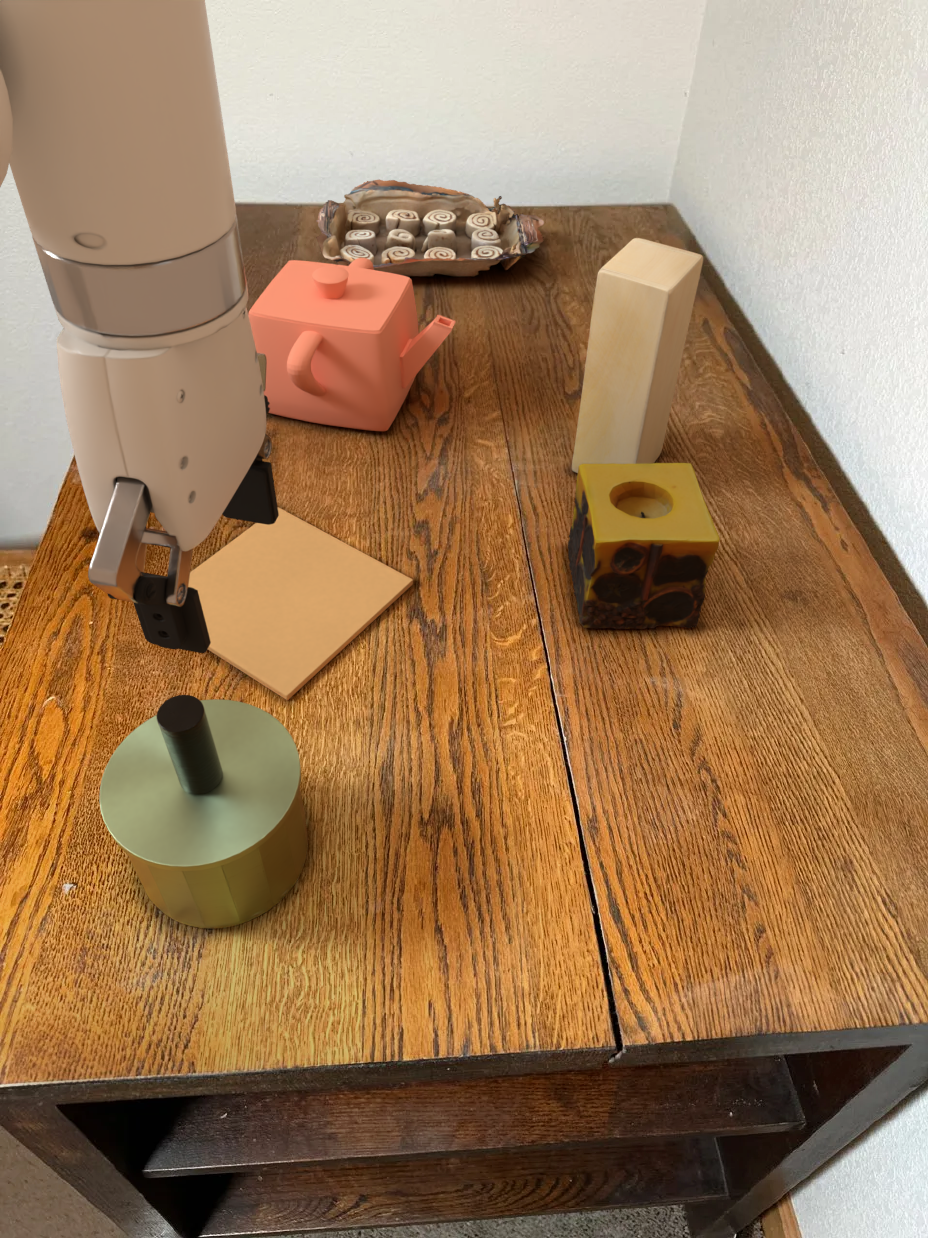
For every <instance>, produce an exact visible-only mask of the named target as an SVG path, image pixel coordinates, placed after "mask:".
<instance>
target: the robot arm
mask: <svg viewBox="0 0 928 1238" xmlns="http://www.w3.org/2000/svg"><path fill="white" fill-rule="evenodd" d="M208 19H209V18H208V12H207V5H206V0H0V188H1V187H2V185H3V184H4V183H3V182H4V181H5V179H6V176H7V174H8V169H9V167H10V170H11V173H12V176H13V180H14V183H15V186H16V190H17V193H18V195H19V199H20V202H21V205H22V208H23V212H24V215H25V218H26V222H27V223H28V224H27V225H28V228H29V230H30V233H31V238H32V241H33V245H34V247H35V250H36V253H37V257H38V260H39V263H40V266H41V269H42V273H43V276H44V279H45V282H46V286H47V288H48V292H49V295H50V297H51V302H52V304H53V307H54V310H55V314H56V317H57V320H58V322H59V323H60V325H61V326H62V329H61V330H60V332H59V334H58V336H57V337H56V353H57V366H58V374H59V376H58V377H59V384H60V390H61V391H60V392H61V398H62V403H63V409H64V415H65V421H66V425H67V428H68V433H69V439H70V442H71V447H72V451H73V454H74V458H75V461H76V462H75V463H76V466H77V467H76V468H77V470H78V473H79V474H78V475H79V478H80V481H81V482H80V483H81V485H82V489H83V492H84V495H85V499H86V503H87V505H88V509H89V511H90V514H91V515H90V516H91V518H92V520H93V523H94V525H95V527H96V530H97V531H98V533H99V536H98V538H97V542H96V545H95V548H94V551H93V555H92V557H91V560H90V563H89V567H88V571H87V577H88V581H89V582H90V583H91V584H93V585H94V586H95V587H97V588H98V589H99V590H101V591H102V592H104V593H105V594H107V596H108V598H109V599H112V600H117V601H123V602H129V603H133V606H134V609H135V612H136V615H137V618H138V621H139V624H140V627H141V631H142V633H143V636H144V639H145V640H146V641H147V642H148V643H149V644H152V645H155V646H158V647H161V648H164V649H168V650H182V651H187V652H193V653H198V654H205V653H207V651H208V647H209V645H210V643H211V641H210V637H209V633H208V629H207V625H206V621H205V618H204V614H203V610H202V606H201V602H200V598H199V594H198V590H196V589H194V588H192V587H188V585H189V577H190V572H191V567H192V559H193V551H194V548H197V546H199V545H200V544H202V542H204V541H205V540H206V539H207V538H208V537H209V535H210V534H211V532H212V531H213V530H214V528H215V527H216V525H217V523H218V521H219V520H220V518H221V517H222V516H223V517H224V518H227V519H232V520H238V521H243V522H249V523H250V522H251V523H254V524H255V523H261V524H267V525H270V524H274V523H275V521H276V520H277V518H278V516H279V513H278V501H277V500H278V499H277V493H276V486H275V482H274V481H275V480H274V475H273V467H272V462H270V461H265V460H268V459H269V458H270V457H271V453H272V450H273V449H272V448H273V443H272V438H271V437H270V436H269V435H268V434H267V418H268V414H269V413H268V412H269V410H270V408H269V407H268V405H269V404H270V403H269V402H268V398H267V396H265V395H264V391H265V386H266V365H267V359H266V355H265V354H262V353H257V352H256V346H255V342H254V337H253V333H252V328H251V324H250V320H249V316H248V315H249V311H248V308H247V306H248V305H247V304H248V301H249V288H248V282H247V275H246V268H245V262H244V255H243V248H242V240H241V235H240V229H239V221H238V215H237V208H236V200H235V194H234V188H233V181H232V174H231V167H230V161H229V154H228V148H227V140H226V134H225V133H226V132H225V126H224V119H223V112H222V106H221V101H220V93H219V92H220V91H219V86H218V79H217V72H216V66H215V60H214V59H215V58H214V52H213V46H212V39H211V32H210V26H209V20H208ZM151 513H152V514H154V516H155V518H156V520H157V521H158V522H159V524H160V525H161V527H162V528H163V529H164V530H161V529H155V528H149V527H147V525H148V522H149V518H150V515H151ZM148 545H152V546H156V547H157V546H158V547H163V548H169V549H170V550H169V558H168V559H169V560H168V567H167V576H166V575H162V574H156V573H150V572H145V565H146V557H147V556H146V555H147V547H148Z"/></svg>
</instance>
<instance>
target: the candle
mask: <svg viewBox="0 0 928 1238" xmlns="http://www.w3.org/2000/svg"><path fill="white" fill-rule="evenodd" d="M574 496H575V497H574V507H573V516H572V522H571V526H570V529H569V534H568V538H569V539H568V541H567V550H568V551H567V552H568V553H567V554H568V560H569V564H568V566H569V570H570V571H571V572H570V576H571V580H572V585H573V586H572V587H573V590H574V592H573V594H574V597H575V600H576V606H577V612H578V616H579V619H578V623H579V624H580V625H581V626H582V627H583V628H584V629H613V630H614V629H615V630H620V629H621V630H623V629H624V630H625V629H637V630H645V629H655V628H656V627H658V626H665V627H667V626H668V627H678V628H687V629H691V628H697V627H698V624H699V620H700V616H701V612H702V606H703V604H704V602H705V599H706V589H707V587H706V586H707V585H706V581H707V575H708V572H709V569H710V567H711V566H712V564H713V563H714V560H715V556H716V553H717V551H718V549H719V547H720V539H721V538H720V535H719V532H718V530H717V527H716V526H715V523H714V520H713V518H712V515H711V514H710V511H709V509H708V506H707V503H706V501H705V498H704V495H703V493H702V490H701V487H700V484H699V480H698V478H697V475H696V471H695V469H694V467H693V464H692V463H691V462H690V463H689V462H654V463H649V464H615V463H610V464H581V465H579V468H578V473H577V476H576V485H575V495H574Z"/></svg>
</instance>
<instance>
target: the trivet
mask: <svg viewBox="0 0 928 1238" xmlns="http://www.w3.org/2000/svg"><path fill="white" fill-rule="evenodd" d="M278 513H279V516H278V518H277V520H276V521H275V523H274V524H270V525H267V524H261V523H255V522H254V524H253V525H251V526H250V527H248V528H247V529H246V530H245V531H243V532H242V533H241V534H239V535H238V536H237V537H235V538H234V539H233V540H231V541H230V542H229V543H227V544H226V545H224V546H223V547H222V548H220V549H219V550H218V551H217V552H215V553H214V554H212V555H211V556H210V557H209V558H207V559H206V560H204V562H203V561H202V563H200V564H199V565H198V566H197V567H195V568H194V569H193V570H190V577H189V585H188V587H192V588H194V589H196V590H198V594H199V598H200V602H201V606H202V610H203V614H204V618H205V621H206V625H207V629H208V633H209V637H210V641H211V643H210V645H209V647H208V649H207V651H209V652H211V653H212V654H214V655H215V656H217V657H219V658H221V660H223V661H225V662H226V663H228V664H230V665H231V666H232V667H234V668H236V669H238V670H239V671H240V672H242V673H244V674H245V675H247V676H249V677H250V678H251V679H253V680H255V681H257V683H259V684H261V685H263V687H265V688H267V689H268V690H270V691H271V692H273V693H275V694H277V695H278V696H280V697H281V698H283V699H284V700H285V701H289V700H290V699H291V698H292V697H293V696H294V695H296V693H298V691H300V690H301V689H302V688H303V687H304V686H305V685H306V684H307V683H308V682H309V681H310V680H311V679H313V678H314V676H316V675H317V674H318V673H319V672H320V671H321V670H322V669H323V668H325V667H326V665H328V664H329V663H330V662H331V661H332V660H333V659H334V658H335V657H336V656H337V655H339V653H341V652H342V651H343V650H344V649H345V648H346V647H347V646H348V645H349V644H350V643H352V641H353V640H355V639H356V638H357V637H358V636H359V635H360V634H361V633H362V632H363V631H364V630H366V628H367V627H369V626H370V625H371V624H372V623H373V622H374V621H375V620H377V618H378V617H379V616H380V615H382V614H383V613H384V612H385V611H386V610H387V609H388V608H389V607H390V606H392V604H393V603H395V602H396V601H397V600H398V599H399V598H400V597H401V596H402V595H403V594H404V593H405V592H407V590H409V588H411V587H412V586H413V585H414V579H413V578H412V577H409V576H407V575H405V574H404V573H402V572H400V571H398V570H397V569H394V568H392V567H390V566H388V565H387V564H385V563H383V562H381V561H379V560H377V559H375V557H371V556H370V555H368V554H366V553H364V552H362V551H360V550H359V549H356V548H355V547H354V546H351V545H349V544H348V543H346V542H344V541H342V540H341V539H338V538H337V537H335V536H333V535H331V534H329V533H327V532H325V531H323V530H321V529H320V528H318V527H316V526H314V525H312V524H310V523H309V522H307V521H305V520H303V519H301V518H299V517H297V516H296V515H294V514H292V513H290V512H288V511H287V510H284V509H282V508H281V507H278Z"/></svg>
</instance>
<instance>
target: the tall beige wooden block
mask: <svg viewBox="0 0 928 1238" xmlns="http://www.w3.org/2000/svg"><path fill="white" fill-rule="evenodd" d="M703 263H704V256H703V255H702V254H700V253H696V252H693V251H689V250H685V249H682V248H678V247H675V246H671V245H668V244H663V243H659V242H655V241H652V240H649V239H645V238H641V237H634V238H633V239H630V241H629V242H628V243H627V244H626V245H625V246H624V247H623V248H621V249H620V250H619V251H618V252H616V254H615V255H613V257H611V258H610V260H609V261H607V262H606V263H605V264H604V265H603V266H602V267H601V268H600V269H599V270H598V272H597V276H596V283H595V288H594V294H593V295H594V296H593V302H592V310H591V318H590V323H589V327H590V329H589V335H588V342H587V343H588V344H587V351H586V358H585V364H584V365H585V366H584V373H583V381H582V388H581V389H582V390H581V396H580V404H579V411H578V418H577V426H576V433H575V441H574V448H573V449H574V450H573V454H572V461H571V471H572V472H573V473H576V474H578V468H579V465H581V464H610V463H615V464H649V463H656V461H657V460H658V458H659V457H660V455H661V453H662V452H663V451H662V450H663V447H664V443H665V438H666V433H667V427H668V424H669V419H670V414H671V410H672V405H673V401H674V396H675V391H676V387H677V383H678V377H679V373H680V369H681V364H682V359H683V355H684V350H685V345H686V341H687V336H688V331H689V328H690V323H691V318H692V313H693V309H694V304H695V299H696V295H697V291H698V286H699V282H700V277H701V273H702V268H703Z"/></svg>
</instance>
